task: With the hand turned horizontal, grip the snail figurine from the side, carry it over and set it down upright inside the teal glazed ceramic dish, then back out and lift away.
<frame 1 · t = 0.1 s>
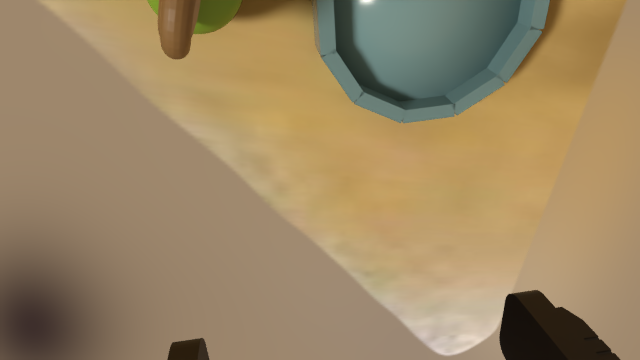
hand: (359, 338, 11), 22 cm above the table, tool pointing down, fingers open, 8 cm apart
dish: (423, 3, 29), on the table
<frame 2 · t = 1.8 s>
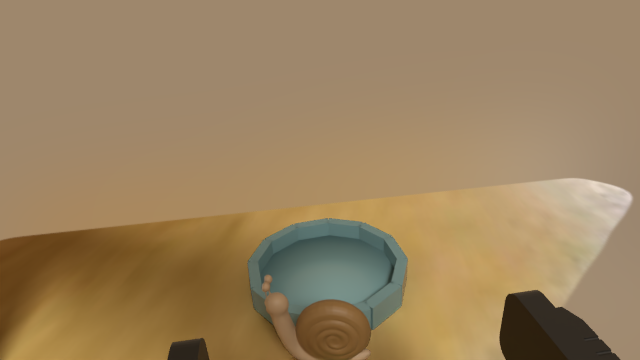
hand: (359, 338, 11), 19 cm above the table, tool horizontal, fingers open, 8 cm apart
dish: (327, 279, 43), on the table
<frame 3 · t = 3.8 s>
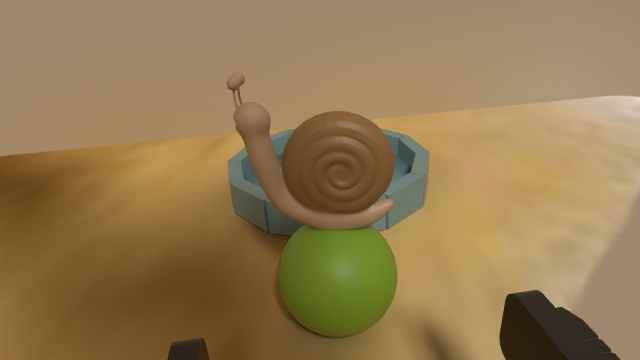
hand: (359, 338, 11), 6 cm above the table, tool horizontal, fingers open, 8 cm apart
snail figurine: (329, 321, 21), on the table
dish: (328, 185, 34), on the table
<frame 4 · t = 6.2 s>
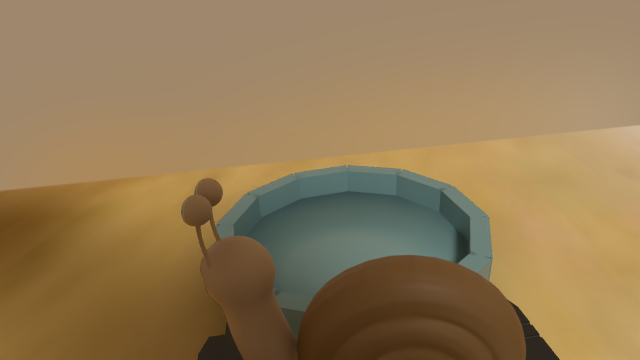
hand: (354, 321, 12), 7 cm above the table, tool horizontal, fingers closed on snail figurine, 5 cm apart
dish: (351, 255, 26), on the table
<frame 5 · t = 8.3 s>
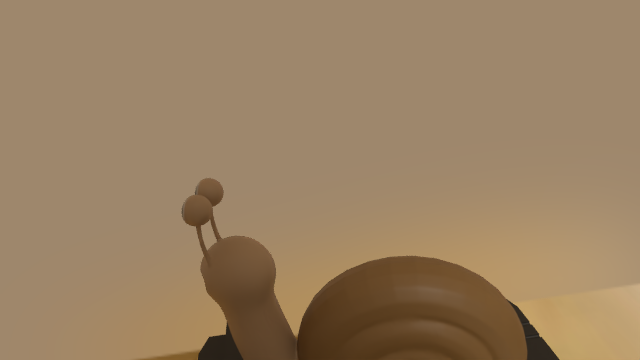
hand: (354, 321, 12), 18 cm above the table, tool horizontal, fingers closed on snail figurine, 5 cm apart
when the fingers open (8 cm above the table, at t = 10.9 s): snail figurine moves 1 cm, resting on dish.
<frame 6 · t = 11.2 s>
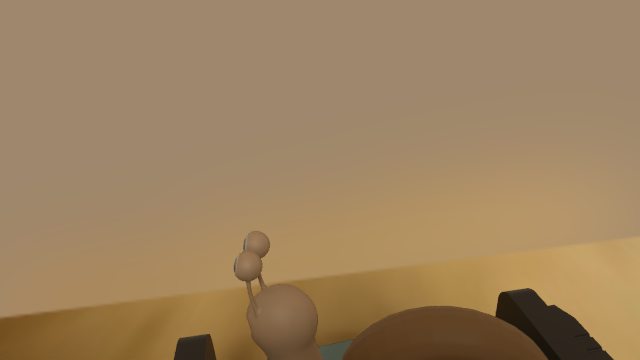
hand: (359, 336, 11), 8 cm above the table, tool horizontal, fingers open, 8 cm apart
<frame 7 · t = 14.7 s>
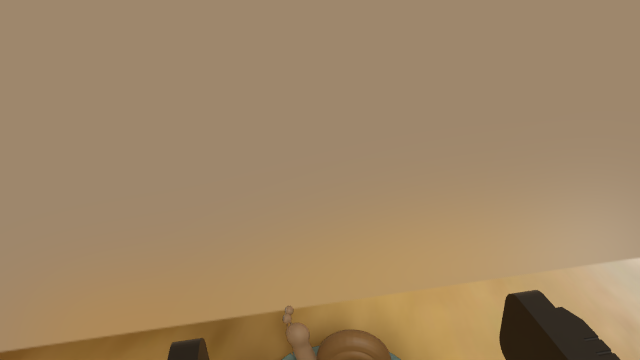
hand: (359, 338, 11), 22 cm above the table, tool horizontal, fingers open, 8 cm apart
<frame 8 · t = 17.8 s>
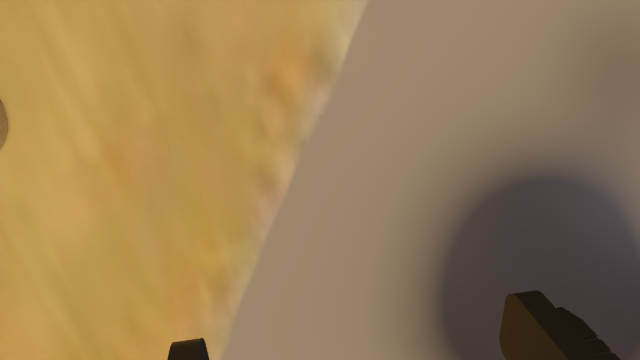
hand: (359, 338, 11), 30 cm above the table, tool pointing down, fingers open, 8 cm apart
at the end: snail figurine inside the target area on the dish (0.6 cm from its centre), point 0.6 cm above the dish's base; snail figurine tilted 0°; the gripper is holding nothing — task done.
